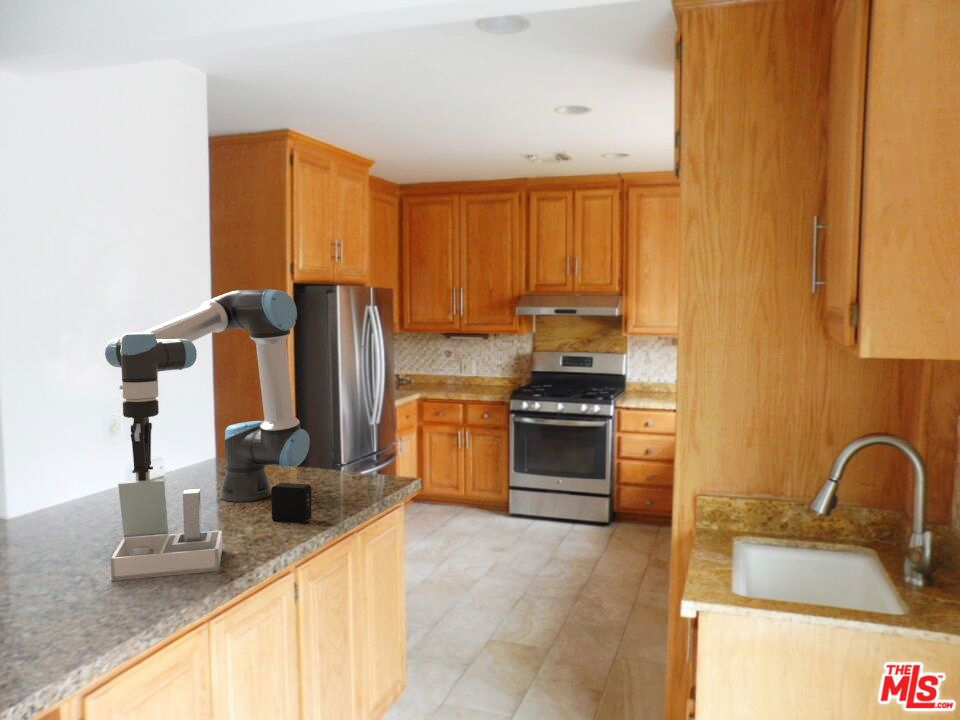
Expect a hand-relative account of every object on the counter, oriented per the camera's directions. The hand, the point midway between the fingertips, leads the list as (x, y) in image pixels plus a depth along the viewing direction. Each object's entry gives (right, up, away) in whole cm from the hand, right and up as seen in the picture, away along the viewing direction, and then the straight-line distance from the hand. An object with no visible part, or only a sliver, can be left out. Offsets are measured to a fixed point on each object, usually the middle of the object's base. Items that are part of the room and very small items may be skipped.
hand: (143, 498), depth 168 cm
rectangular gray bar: (+12, -14, -1) cm, 18 cm away
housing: (+7, -15, -2) cm, 17 cm away
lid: (0, -3, -1) cm, 3 cm away
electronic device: (+27, -12, +31) cm, 43 cm away
